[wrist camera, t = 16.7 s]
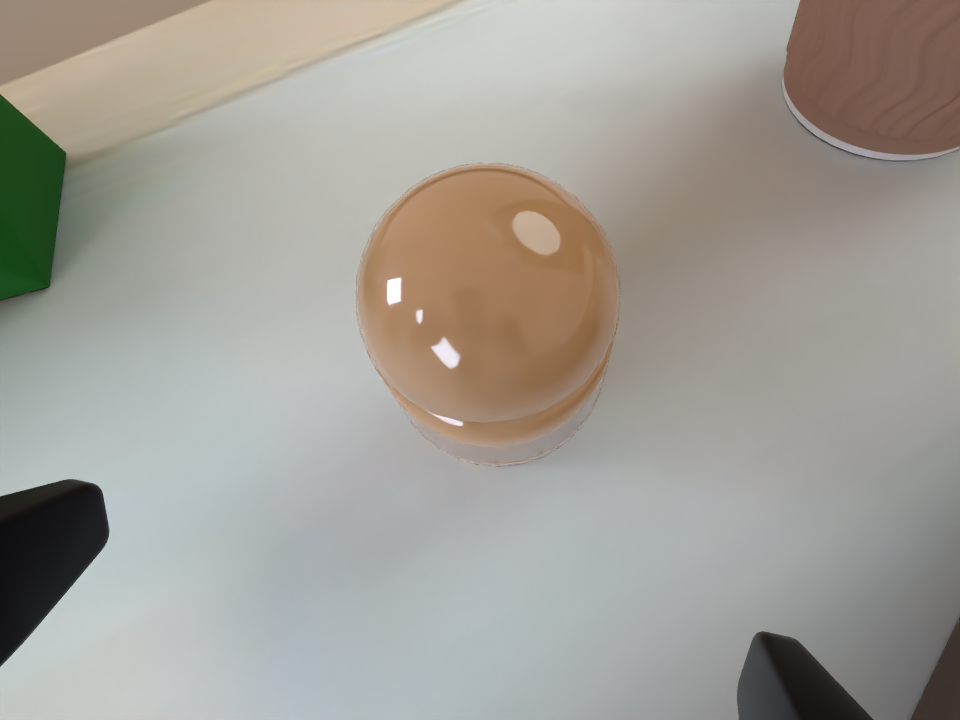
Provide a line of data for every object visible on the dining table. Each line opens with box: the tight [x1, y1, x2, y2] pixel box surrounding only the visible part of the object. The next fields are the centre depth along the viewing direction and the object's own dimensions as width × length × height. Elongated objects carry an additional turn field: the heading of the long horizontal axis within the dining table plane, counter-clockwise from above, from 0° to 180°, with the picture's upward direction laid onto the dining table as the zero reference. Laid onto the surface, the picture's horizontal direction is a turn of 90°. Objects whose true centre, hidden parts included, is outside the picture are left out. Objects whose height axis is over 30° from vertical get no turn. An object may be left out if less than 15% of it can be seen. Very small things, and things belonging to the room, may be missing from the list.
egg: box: [356, 163, 620, 467], centre depth 13 cm, size 5×5×9 cm
